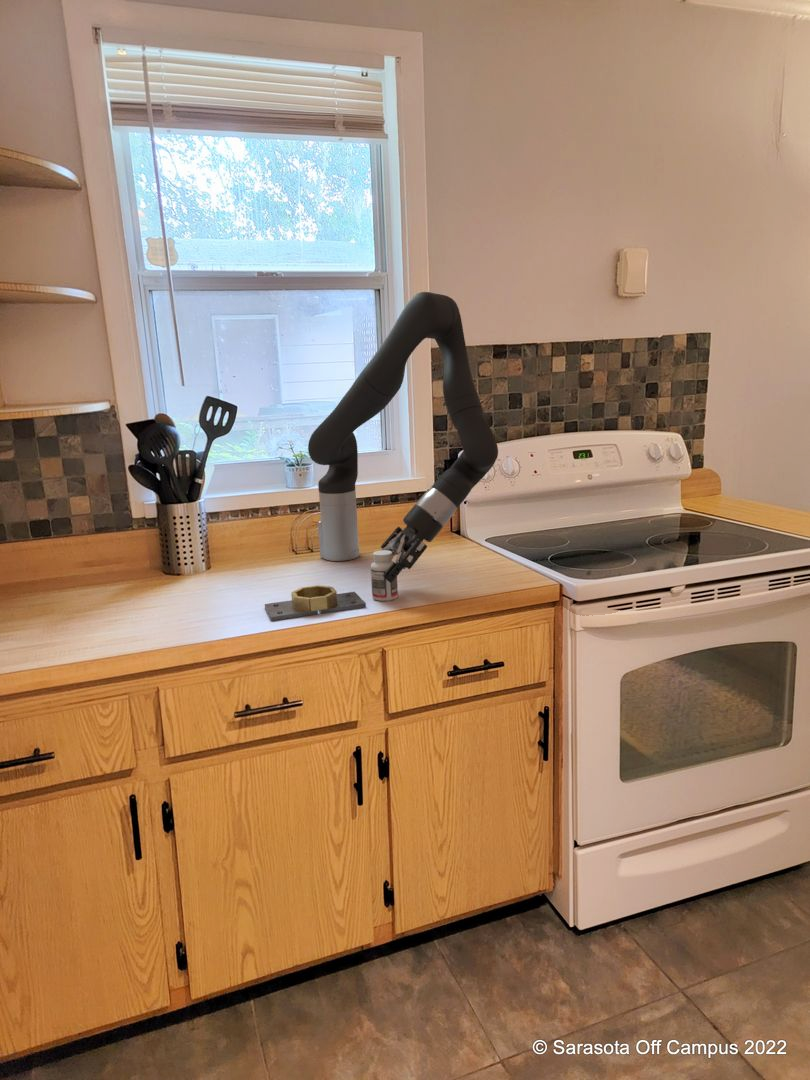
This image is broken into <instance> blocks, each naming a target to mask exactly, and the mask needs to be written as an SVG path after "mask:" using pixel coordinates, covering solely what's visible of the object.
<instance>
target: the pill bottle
mask: <svg viewBox="0 0 810 1080" xmlns="http://www.w3.org/2000/svg"><path fill="white" fill-rule="evenodd" d="M393 558H394V556H393V555H392V551H389V550H382V549H381V550H376V551H374V552H373V553H372V559H373V562H372V563H371V564H370V576H371V577H370V579H371V580H370V581H371V594H372V599H373V600H375V601H378V602H389V601H393V600H395V599H397V598H398V596H399V592H398V591H399V589H398V576H397V577H396V578H395V579H394V580H393V581H392V582H389V581H388V580H386V579H385V578H384V577H383V575H384V573H385V572H386V571H387V570H388V568H389V567H390V566H391V565H392V564H393V562H394V561H393ZM374 561H375V562H374Z"/></svg>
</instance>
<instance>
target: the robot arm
mask: <svg viewBox="0 0 810 1080" xmlns="http://www.w3.org/2000/svg"><path fill="white" fill-rule="evenodd" d="M425 339H433V340H435V342H436V343H437V346H438V349H439V350H440V354H441V357H442V361H443V379H442V392H443V393H442V394H443V395H442V396H443V399H444V403H445V406H446V410H447V412H448V415H449V417H450V420H451V423H452V425H453V427H454V429H455V430H456V431H457V434H458V438H459V440H460V443H461V447H462V450H463V451H462V452H461V454H460V455H459V456H458V457H457V458H456V460H455V461H454V462H453V463H452V465H451V466H450V467H449V468H448V469H446V470H445V471H443V473H441V475H440V476H439V477H438V479H437V480H436V481H435V482H434V483H433V485H431V487H430V488H429V489H428V490H427V491H425V492H424V494H422V496H421V497H420V498H419V499H418V501H417V502H416V503H415V504H414V505H413V506H412V508H410V510H409V511H408V512H407V513H406V515H405V516H404V518H403V519H402V520H403V523H404V524H405V525H406V526H405V528H403V529H402V527H400V526H397V527H396V528H395V530H393V532H392V533H391V534H390V535H389V536H388V537H387V538H386V540H385V541H384V542H383V543H382V544H381V546H380V549H381V550H389V551H392V555H393V557H395V556H396V559H395V560H394V561H393V564H392V565H391V566H390V567H389V568H388V570H387V571H386V572H385V573H384V575H383V577H384V578H385V579H386V580H388V581H389V582H392V581H393V580H394V579H395V578H396V577H397V578H398V575H400V574H401V572H402V571H403V570H406V569H408V570H410V569H411V568H412V567H413V566H414V565H415V563H416V562H417V561H418V559H419V558H420V557H421V556H422V554H423V553H424V552H425V551H426V550H427V548H428V545H427V544H426V543H425V542H424V541H426V542H427V543H431V542H432V541H433V540H434V539H435V537H437V535H438V534H439V532H441V530H442V529H443V528H444V527H445V525H447V523H448V522H449V521H450V519H452V517H453V515H454V514H455V512H456V510H457V509H458V508H459V507H460V506H461V504H462V503H463V502H464V501H465V500H466V498H467V497H468V495H469V494H470V493H471V491H472V489H473V488H474V487H475V486H476V485H478V483H479V482H480V481H481V480H482V479H483V478H484V477H485V476H486V475H487V473H489V471H490V470H491V469H492V468H493V467H494V465H495V462H496V460H497V459H498V457H499V447H498V444H497V440H496V437H495V435H494V433H493V430H492V429H491V427H490V425H489V423H488V420H487V419H486V417H485V416H486V415H485V413H484V409H483V407H482V403H481V402H482V401H480V400H481V399H480V397H479V393H478V391H477V388H476V385H475V382H474V378H473V376H472V371H471V366H470V361H469V356H468V350H467V345H466V339H465V333H464V327H463V321H462V317H461V312H460V309H459V307H458V304H457V303H456V301H455V300H454V299H453V298H452V297H450V296H448V295H445V294H440V293H435V292H429V291H422V292H418V293H416V294H414V295H413V296H412V297H411V298H410V299H409V300H408V301H407V303H406V304H405V306H404V308H403V309H402V311H401V312H400V314H399V316H398V318H397V320H396V321H395V323H394V325H393V326H392V328H391V330H390V331H389V333H388V335H387V337H386V338H385V340H383V342H382V343H381V345H380V346H379V348H378V349H377V351H376V352H375V354H374V355H373V356H372V358H371V359H370V361H369V362H368V363H367V364H366V365H365V367H364V368H363V369H362V370H361V372H360V373H359V374H358V376H357V378H356V379H355V380H354V382H353V383H352V385H351V387H349V389H348V390H347V392H345V394H344V395H343V397H342V398H341V399H340V401H339V402H338V404H337V405H336V407H335V408H334V409H333V411H331V412H330V413H329V415H328V416H327V417H326V418H325V419H324V420H323V421H322V422H321V423H320V424H319V425H318V426H317V428H315V430H313V432H312V434H311V435H310V438H309V440H308V445H307V450H308V456H309V457H310V460H311V461H313V462H314V463H315V464H317V465H322V466H328V470H327V472H326V473H325V475H323V476H322V477H321V478H320V479H319V480H318V484H317V487H318V498H319V500H318V501H319V511H320V513H319V514H320V520H318V521H317V531H318V532H317V533H318V534H317V535H318V543H319V544H318V545H319V558H320V559H324V560H327V561H331V562H343V561H344V562H345V561H351V560H354V559H357V558H358V557H360V545H359V529H358V528H359V526H358V525H359V524H358V510H357V507H358V506H357V493H356V482H357V480H358V477H359V476H358V474H359V470H358V469H359V464H358V461H359V460H358V457H359V455H358V454H359V453H358V451H359V450H358V443H357V442H358V441H357V438H356V435H355V433H354V432H355V431H356V430H357V429H358V428H359V427H361V426H362V425H364V424H365V423H366V422H368V421H370V420H371V419H373V418H374V417H375V416H377V415H378V414H379V413H381V411H382V410H384V409H385V408H386V407H387V406H388V404H389V403H390V402H391V401H392V400H393V398H395V395H397V393H398V392H399V391H400V389H401V387H402V385H403V382H404V378H405V371H406V365H407V362H408V359H409V357H410V356H411V355H412V353H414V351H415V349H417V347H418V346H419V345H420V344H421V343H422V342H423V341H424V340H425ZM373 562H375V561H374V560H373Z"/></svg>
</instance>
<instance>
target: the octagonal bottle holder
mask: <svg viewBox="0 0 810 1080" xmlns="http://www.w3.org/2000/svg"><path fill="white" fill-rule="evenodd" d="M362 608H367V604H366V602H365V601H364V600H363V599H362V598H361V597H360V596H359V594H358V593H357V592H356V591H348V592H342V593H337V590H336V589H335V587H333V586H329V585H328V586H327V585H322V584H321V585H320V584H319V585H318V584H317V585H310V586H303V587H300V588H297V589H295V590H293V591H291V600H285V601H284V600H283V601H277V602H271V603H264V609H265V611H266V612H267V615H268V617H269V619H270V622H274V620H275V621H281V620H280V619H282V620H288V618H289V619H294V618H295V617H296V618H302V616H303V617H308V616H315V615H319V613H320V614H323V615H324V614H328V613H329V614H330V613H335V612H342V611H343V612H344V611H350V610H356V609H357V610H358V609H362Z"/></svg>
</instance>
